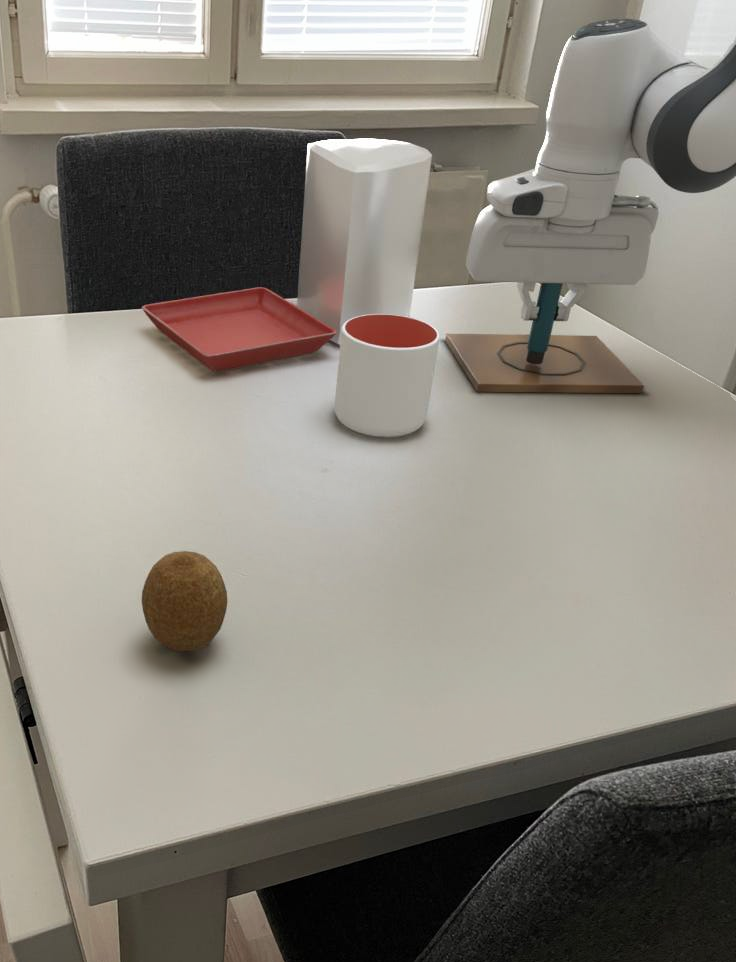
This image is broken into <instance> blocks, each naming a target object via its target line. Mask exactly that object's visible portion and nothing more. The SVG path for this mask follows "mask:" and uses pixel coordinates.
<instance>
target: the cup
mask: <svg viewBox="0 0 736 962" xmlns="http://www.w3.org/2000/svg"><path fill="white" fill-rule="evenodd" d="M440 338H441V336H440V333H439V331H438V330H437V328H435V327H434V326H433V325H431V324H429V323H427V322H425V321H423V320H420V319H417V318H414V317H411V316H409V317H406V316H400V315H391V314H370V315H362V316H358V317H354V318H352V319H349V320H348V321H346V322H345V323H344V324H343V326H342V332H341V342H340V344H339V354H338V362H337V363H338V364H337V375H336V384H335V394H334V403H333V407H334V408H333V409H334V413H335V417H336V418H337V419H338V421H339V422H340V423H341V424H342V425H344V426H345V427H346V428H348V429H350V430H352V431H353V432H355V433H359V434H362V435H366V436H371V437H375V438H376V437H378V438H395V437H396V438H397V437H402V436H406V435H409V434H413V433H414V432H416V431H417V430H419V429H420V428H421V427H422V426H423V425H424V423H425V422H426V420H427V417H428V413H429V407H430V400H431V394H432V388H433V382H434V376H435V369H436V363H437V357H438V351H439V344H440V340H441V339H440Z"/></svg>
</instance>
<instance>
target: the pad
mask: <svg viewBox="0 0 736 962" xmlns="http://www.w3.org/2000/svg"><path fill="white" fill-rule="evenodd" d="M529 335H530V334H505V333H503V334H501V333H497V334H496V333H495V334H494V333H493V334H492V333H446V334H445V338H444V341H445V344H446V345H447V346H448V348H449V350H450V351H451V353H452V354H453V356H454V358H455V360H456V361H457V362H458V364H459V365H460V367H461V369H462V370H463V372H464V374H465V375H466V376H467V379H468V380H469V381H470V383H471V384H472V386H473V388H474V390H475V391H476V392H477V393H559V394H560V393H564V394H565V393H566V394H567V393H571V394H572V393H577V394H581V393H582V394H643V392H644V389H645V384H643V382H642V381H641V380H640V379H639V378H637V376H636V375H635V374H634V373H633V372H632V371H631V370H630V369H629V368H628V367H627V366H626V365H625V364H624V363H623V361H621V360H620V359H619V358H618V356H617V355H615V354H614V352H613V351H611V349H610V348H609V347H608V346H607V345H606V344H605V343H604V342H603V341H602V340H601V339H600V338H599V337H598V336H597V335H572V334H571V335H570V334H569V335H567V334H554V335H553V334H551V336H550V340H549V345H548V349H547V351H546V352H545V354H544V359H543V362H542V363H541V364H531V363H528V362H527V361H526V357H527V352H528V349H527V344H528V340H529Z"/></svg>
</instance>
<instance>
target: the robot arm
mask: <svg viewBox="0 0 736 962" xmlns="http://www.w3.org/2000/svg"><path fill="white" fill-rule="evenodd" d="M549 95H550V96H549V100H548V104H547V108H546V114H545V125H546V126H545V127H546V130H545V137H544V141H543V144H542V147H541V148H540V150H539V153H538V155H537V158H536V162H535V168H533V169H532V168H531V169H530V170H527V171H523V172H521V173H518V174H514V175H510V176H507V177H504V178H501V179H498V180H494V181H492V182H491V183H490V184H489V185H488V186H487V191H486V199H487V201H488V204H489V205H488V206H487V207H485V208H483V209H482V210H481V211H480V213H479V215H478V217H477V219H476V221H475V224H474V226H473V230H472V233H471V235H470V236H471V237H470V239H469V243H468V247H467V253H466V259H465V267H466V270H467V272H468V273H469V275H470V276H471V277H472V278H473V279H474V280H475V281H476V282H481V283H483V282H484V283H485V282H486V283H489V282H490V283H517V284H516V288H517V290H518V294H519V297H520V299H521V302H522V305H521V308H520V318H521V319H522V320H523V321H527V322H528V321H532V322H533V321H535V320H537V317H538V316H537V313H538V312H539V308H540V307H539V305H537V301H532V298H531V295H530V293H534V292H535V289H536V284H541V283H563V284H566V285H567V288H568V289H569V290H568V292H567V293H566V294H565V295H564V297H563V298H562V299H561V300H560V301H559V302H558V306H557V310H556V315H555V319H554V322H568V320H569V317H570V313H571V310H572V308H573V307H574V306H575V305H576V304H577V302H578V301H579V300H580V299H581V298H582V296H583V295H584V294H585V292H586V288H587V285H619V286H634V285H637V284H638V283H639V282H640V281H641V280H642V278H643V277H644V276H645V274H646V269H647V264H648V260H649V255H650V254H649V253H650V247H651V239H652V234H653V233H654V231H655V229H656V225H657V221H658V218H659V213H660V212H659V208H658V205H657V204H656V203H655V202H654V201H653V200H651V198H650V197H649V196H645V195H637V196H630V195H629V196H628V195H621V194H616V191H617V187H618V182H619V178H620V175H621V170H622V167H623V164H624V162H626V160H628V159H640V160H641V161H643V162H644V163H645V164H646V165H647V166H649V167H651V168H652V169H653V170H654V171H655V173H656V174H657V175H658V176H659V178H660V179H661V180H662V181H663V182H664V184H666V185H667V186H668V187H669V188H671V189H673V190H676V191H678V192H681V193H686V194H700V193H705V192H709V191H712V190H716V189H718V188H720V187H721V186H724V185H725V184H727V183H729V182H731V181H732V180H733V179H734V178H736V36H734V39H733V40H732V42H731V43H730V45H729V46H728V48H727V50H726V51H725V53H723V55H722V56H721V57H720V58H719V59H718V61H716V62H715V63H714V64H713V65H712V66H711V67H709V68H708V67H705V66H702V65H700V64H698V63H697V62H694V61H692V60H690V59H689V58H687V57H685V56H683V55H682V54H680V53H678V52H677V51H675V50H674V49H672V48H671V47H670V46H668V44H666V43H665V42H664V41H662V40H661V39H660V38H659V37H658V36H657V35H656V34H654V32H653V31H652V30H651V28H650V26H649V24H648V23H647V22H645V21H643V20H640V19H634V18H623V19H619V18H614V19H604V20H599V21H595V22H591V23H588V24H585V25H582V26H581V27H580V28H578V29H576V30H575V31H574V32H573V33H572V34H571V35H570V37H569V38H568V40H567V41H566V43H565V45H564V48H563V50H562V53H561V56H560V58H559V62H558V65H557V69H556V72H555V75H554V79H553V83H552V87H551V91H550V94H549Z"/></svg>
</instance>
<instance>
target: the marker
mask: <svg viewBox="0 0 736 962" xmlns="http://www.w3.org/2000/svg"><path fill="white" fill-rule="evenodd" d="M563 284H564V283H540V286H539V291H538V294H537V300H536V303H537V305H539V307H540V308H539V312H538V313H537V316H538V317H537V320H535V321H533V320H532V322H531V327H530V331H529V334H528V335H529V340H528V344H527V349H528V352H527V357H526V361H527V362H528V363H531V364H541V363H542V362H543V359H544V354H545V352H546V351H547V349H548V345H549V340H550V336H551V335H552V331H553V327H554V323H555V321H554V319H555V315H556V310H557V306H558V302H560V297H561V293H562V290H563V289H562V288H563Z"/></svg>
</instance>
